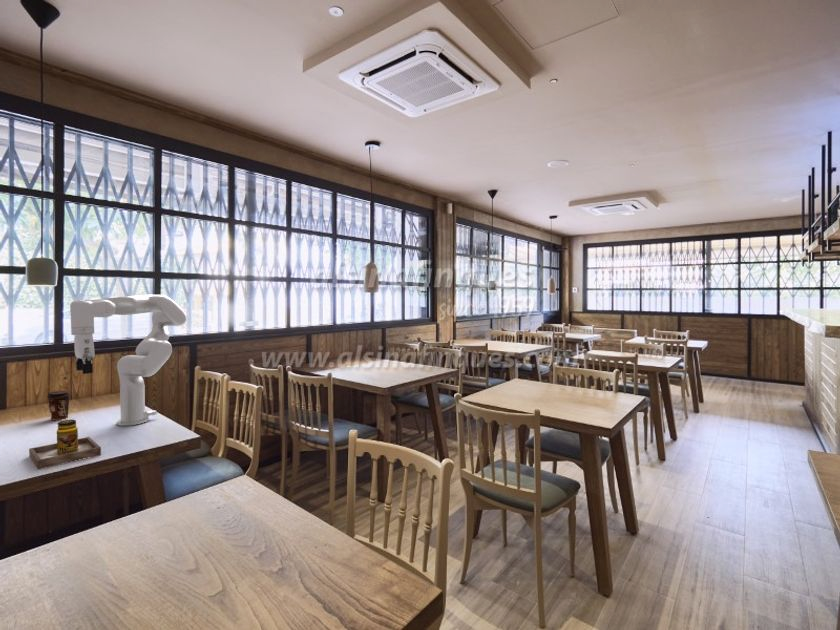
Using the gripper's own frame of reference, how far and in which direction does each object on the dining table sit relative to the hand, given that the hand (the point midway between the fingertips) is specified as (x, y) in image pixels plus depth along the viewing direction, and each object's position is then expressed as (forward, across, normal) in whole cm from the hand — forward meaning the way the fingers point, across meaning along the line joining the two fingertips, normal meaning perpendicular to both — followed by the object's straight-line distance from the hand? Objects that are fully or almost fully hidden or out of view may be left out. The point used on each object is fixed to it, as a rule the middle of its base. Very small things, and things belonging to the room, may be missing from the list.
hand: (84, 371), depth 179 cm
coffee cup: (+28, +40, +2) cm, 49 cm away
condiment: (+27, -18, +10) cm, 34 cm away
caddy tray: (+28, -19, +11) cm, 35 cm away
